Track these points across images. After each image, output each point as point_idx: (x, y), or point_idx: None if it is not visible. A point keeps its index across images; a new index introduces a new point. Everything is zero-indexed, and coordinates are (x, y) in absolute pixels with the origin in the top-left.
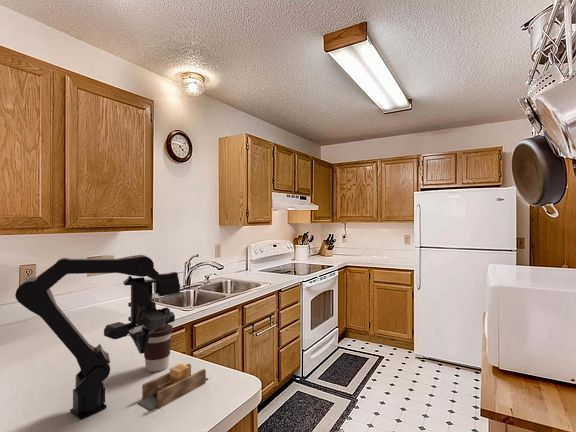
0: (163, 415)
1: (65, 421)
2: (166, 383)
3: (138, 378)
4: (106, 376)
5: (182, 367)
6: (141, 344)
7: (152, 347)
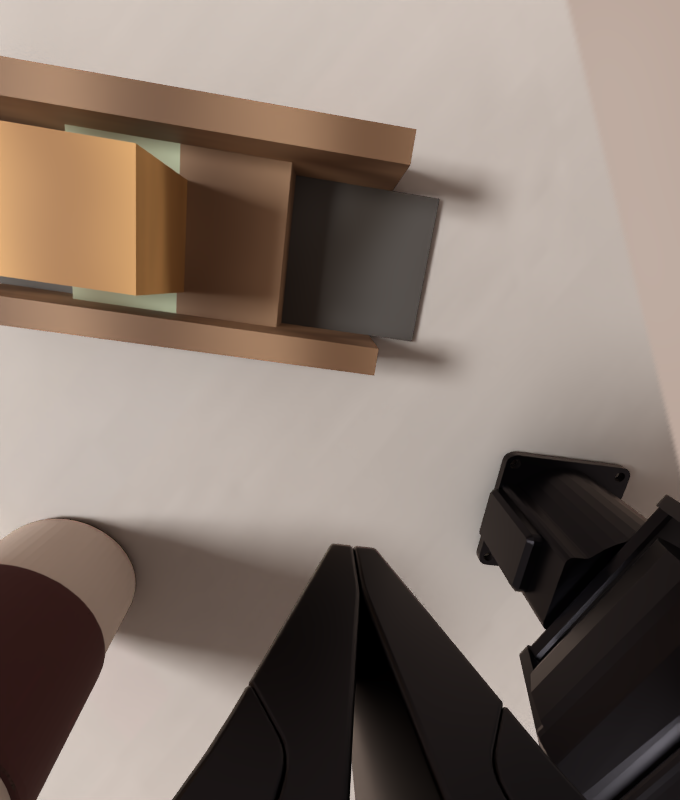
0: (447, 63)
1: (644, 516)
2: (211, 302)
3: (219, 559)
4: (668, 548)
5: (42, 190)
6: (438, 676)
7: (14, 702)
